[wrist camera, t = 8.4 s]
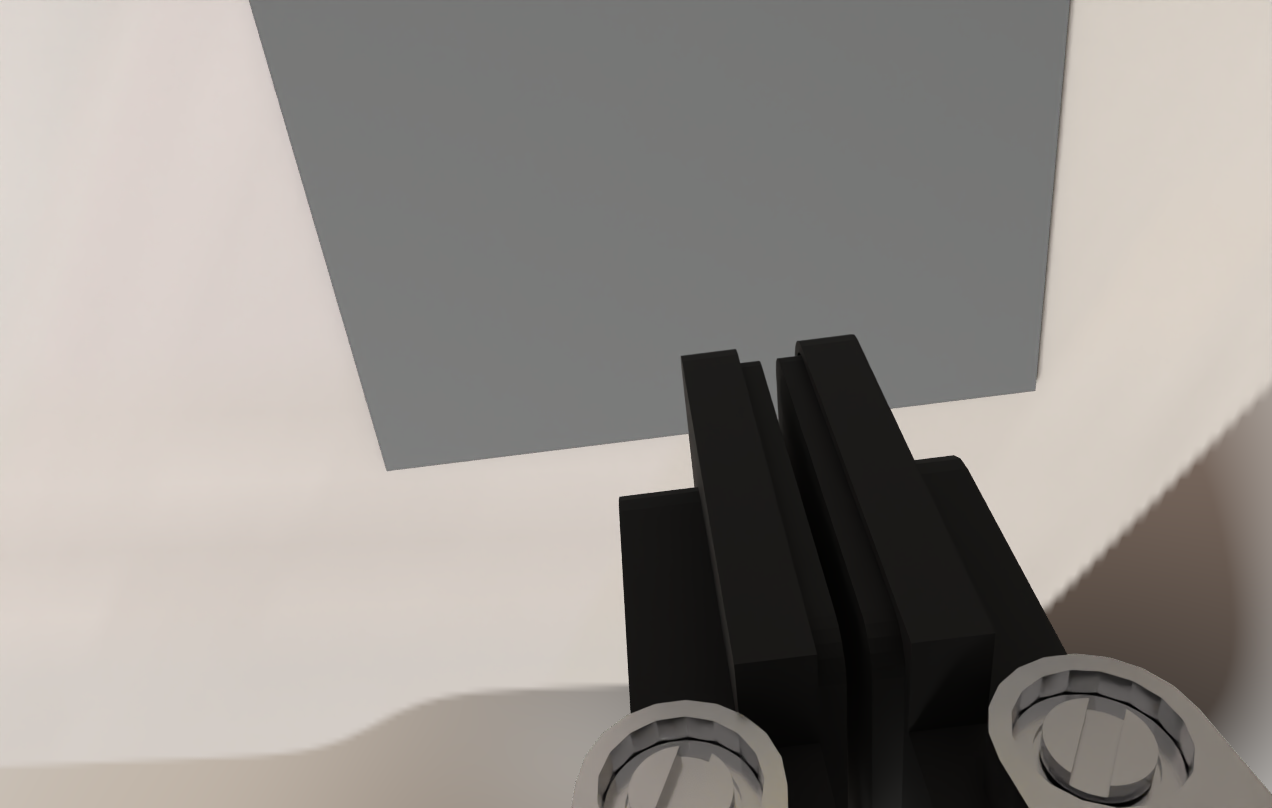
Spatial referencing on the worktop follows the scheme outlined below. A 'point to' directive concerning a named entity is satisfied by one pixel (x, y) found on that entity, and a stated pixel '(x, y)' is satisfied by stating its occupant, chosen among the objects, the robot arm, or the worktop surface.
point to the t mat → (666, 200)
